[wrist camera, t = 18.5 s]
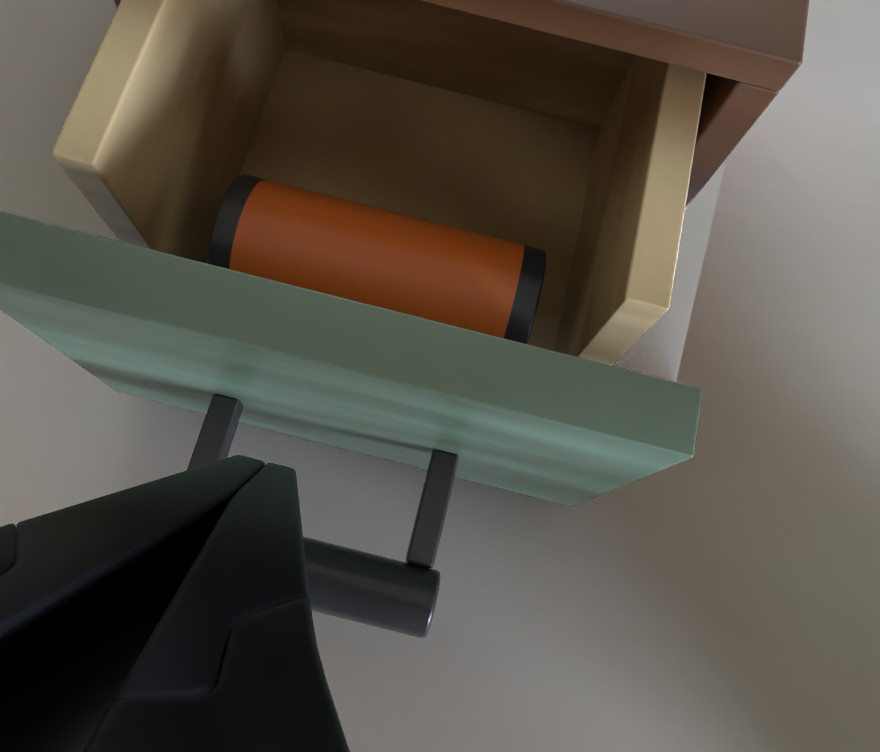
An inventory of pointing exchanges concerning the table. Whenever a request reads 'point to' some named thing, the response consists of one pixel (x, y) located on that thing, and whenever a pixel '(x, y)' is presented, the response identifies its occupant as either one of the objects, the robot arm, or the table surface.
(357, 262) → the tube
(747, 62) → the cabinet
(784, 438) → the table surface
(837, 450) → the table surface
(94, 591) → the robot arm
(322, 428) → the drawer
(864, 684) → the table surface
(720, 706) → the table surface
